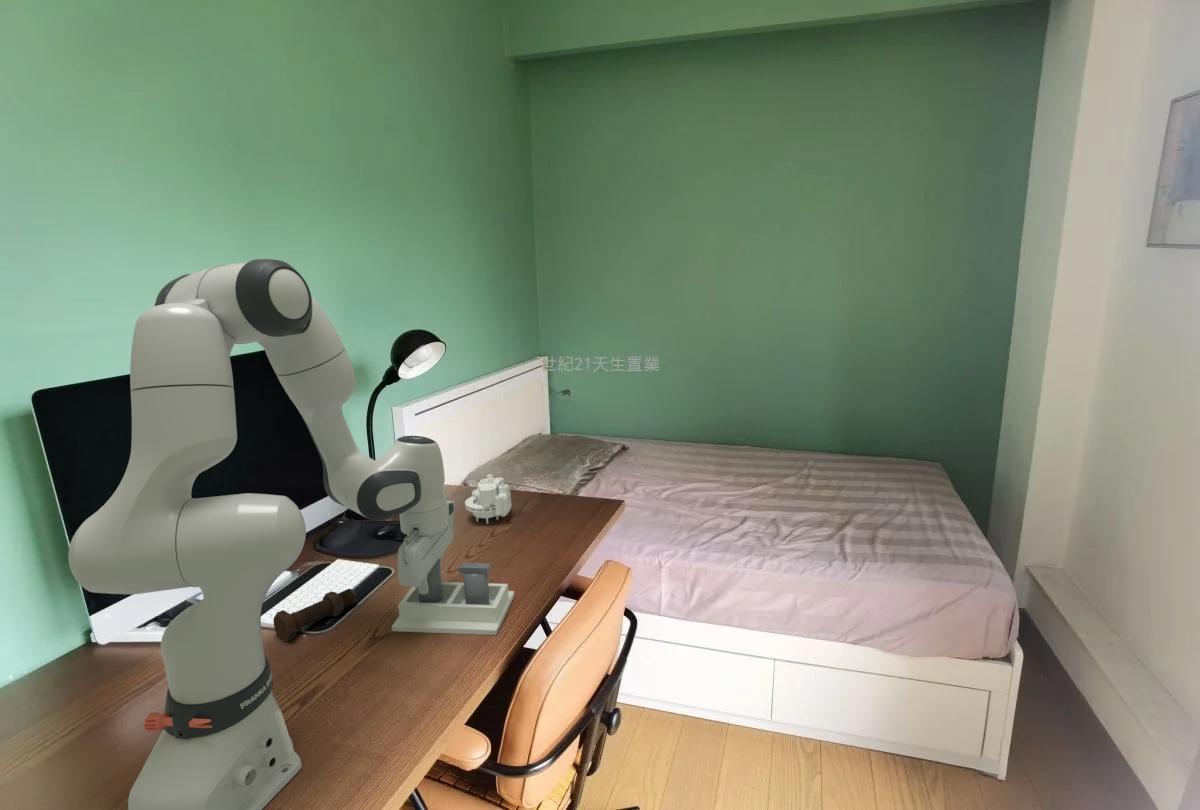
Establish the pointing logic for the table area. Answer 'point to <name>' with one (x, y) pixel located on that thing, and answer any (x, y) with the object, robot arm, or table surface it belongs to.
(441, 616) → the housing
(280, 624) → the bolt
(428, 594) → the grey upright cylinder
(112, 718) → the table surface
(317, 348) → the robot arm
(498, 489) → the mechanical part
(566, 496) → the table surface
